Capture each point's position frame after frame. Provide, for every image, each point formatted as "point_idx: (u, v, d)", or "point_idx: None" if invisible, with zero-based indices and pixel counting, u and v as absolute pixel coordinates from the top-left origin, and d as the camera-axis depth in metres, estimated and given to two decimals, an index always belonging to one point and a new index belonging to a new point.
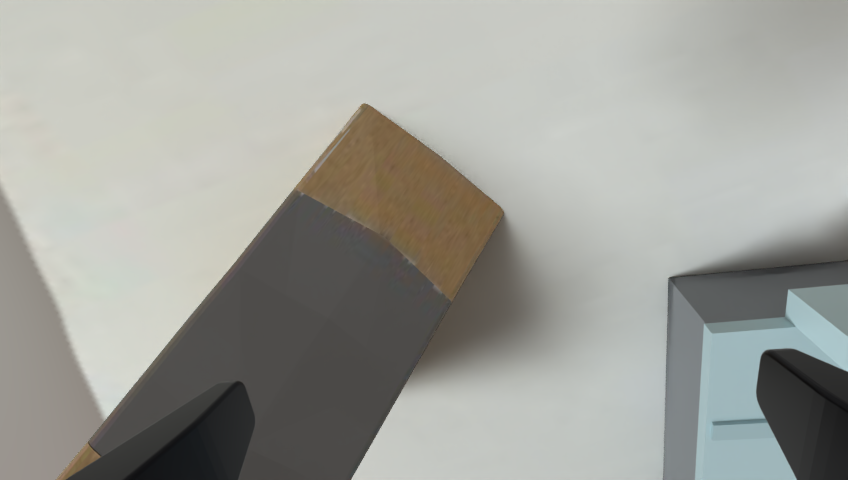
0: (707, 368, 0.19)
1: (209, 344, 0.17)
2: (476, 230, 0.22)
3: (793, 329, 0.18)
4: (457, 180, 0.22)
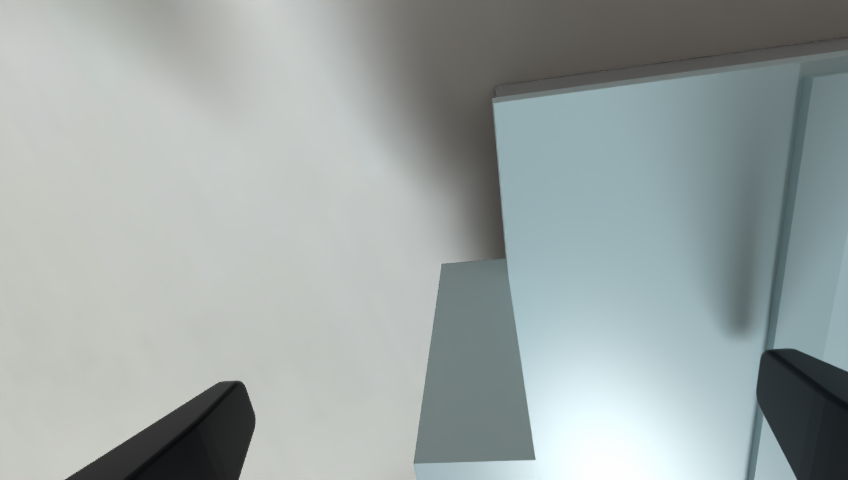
0: None
1: None
2: None
3: None
4: None
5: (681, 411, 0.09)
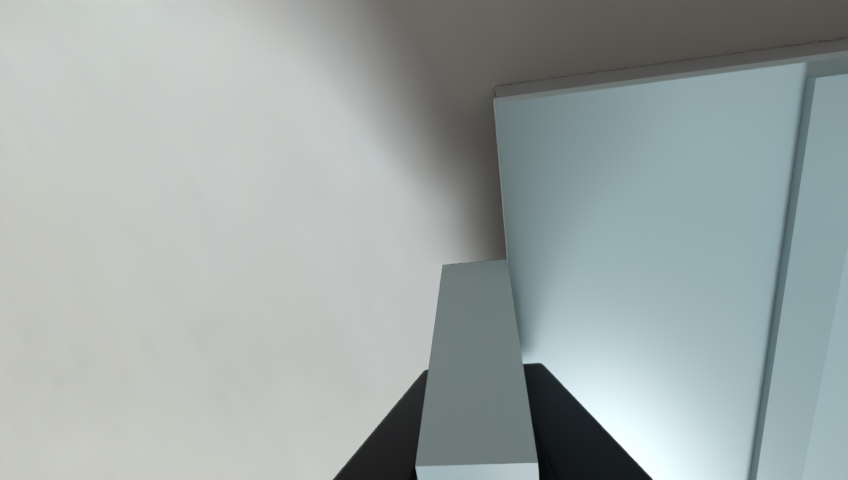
0: None
1: None
2: None
3: None
4: None
5: (683, 412, 0.09)
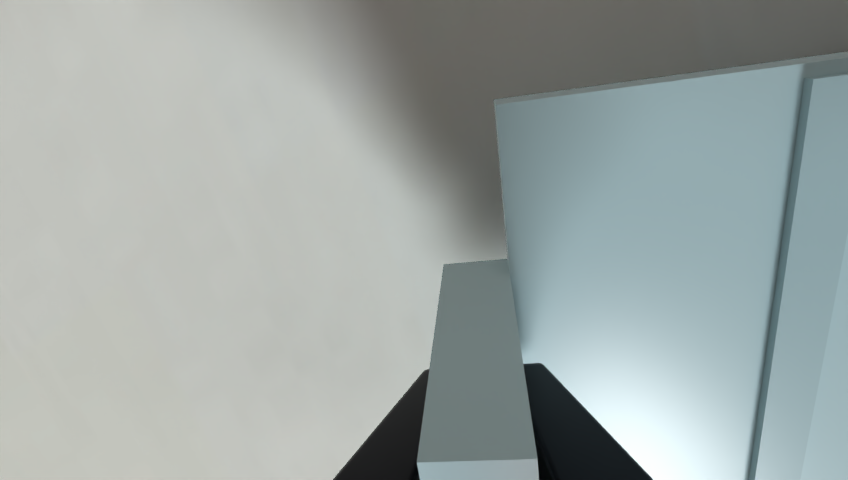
0: None
1: None
2: None
3: None
4: None
5: (682, 411, 0.09)
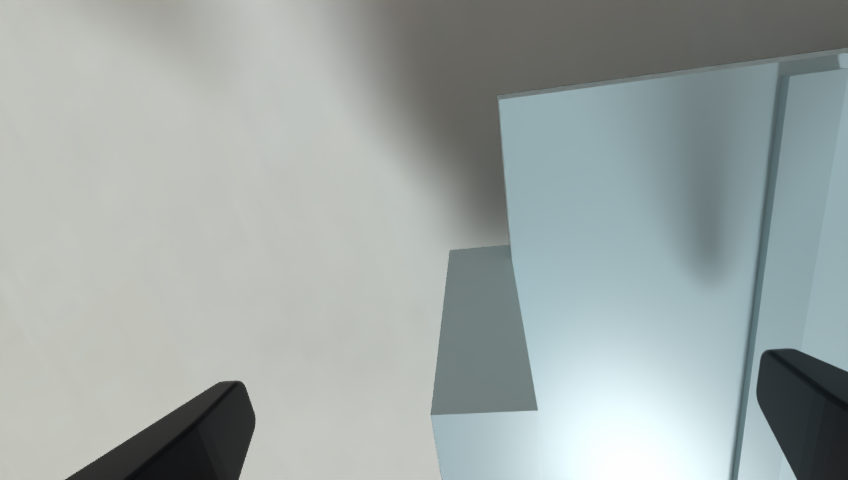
0: None
1: None
2: None
3: None
4: None
5: (673, 387, 0.10)
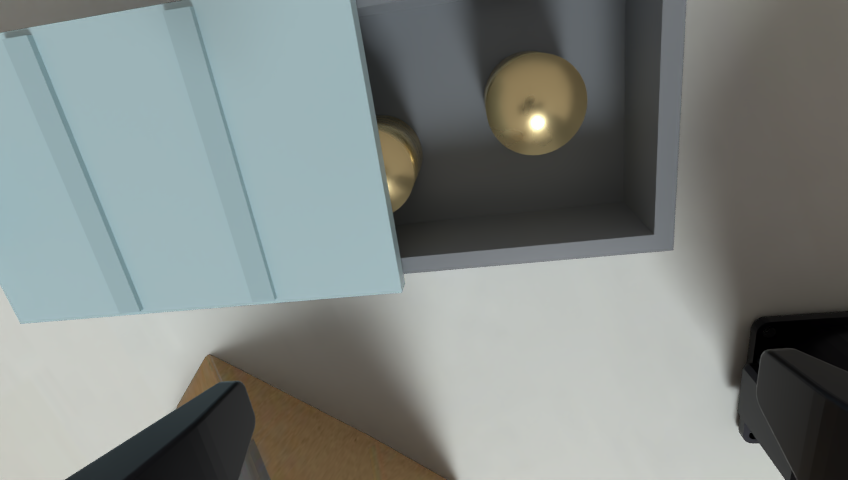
0: (64, 318, 0.18)
1: None
2: None
3: None
4: (188, 394, 0.25)
5: (53, 231, 0.16)
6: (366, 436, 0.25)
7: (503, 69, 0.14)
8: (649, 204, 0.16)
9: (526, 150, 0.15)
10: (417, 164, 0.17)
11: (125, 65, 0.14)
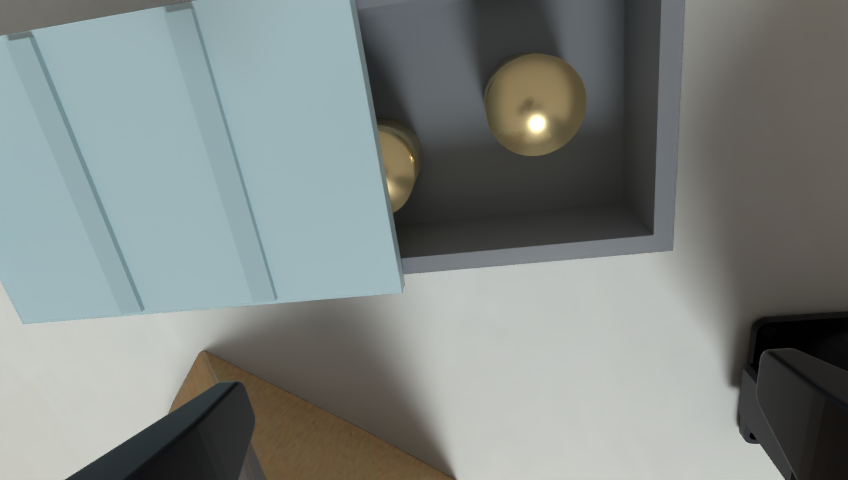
0: (66, 319, 0.18)
1: None
2: (205, 387, 0.23)
3: None
4: (183, 391, 0.25)
5: (55, 232, 0.16)
6: (361, 430, 0.25)
7: (502, 70, 0.14)
8: (649, 204, 0.16)
9: (525, 151, 0.15)
10: (417, 165, 0.17)
11: (127, 67, 0.14)
